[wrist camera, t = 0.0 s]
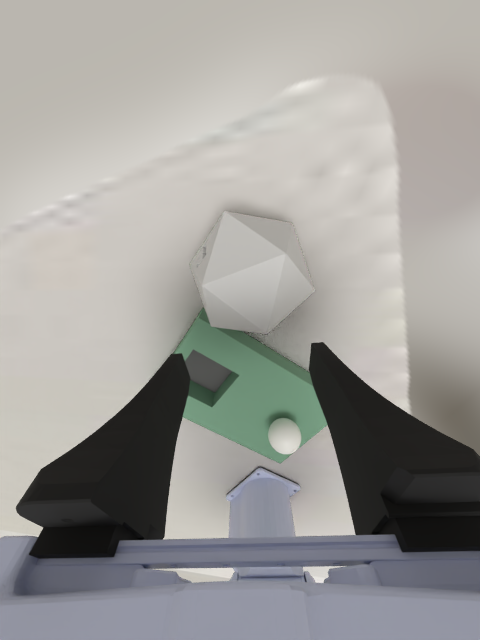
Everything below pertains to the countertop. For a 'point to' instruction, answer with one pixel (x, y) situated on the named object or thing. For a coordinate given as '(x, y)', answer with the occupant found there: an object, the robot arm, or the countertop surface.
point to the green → (245, 388)
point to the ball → (284, 436)
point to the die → (251, 273)
